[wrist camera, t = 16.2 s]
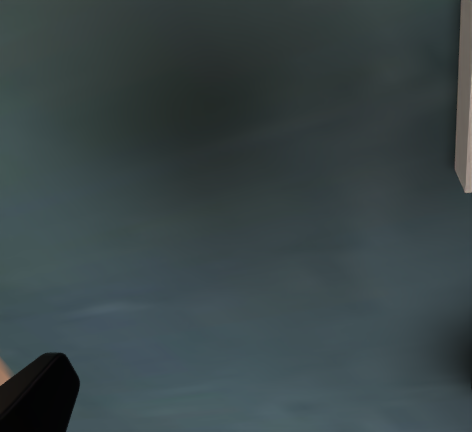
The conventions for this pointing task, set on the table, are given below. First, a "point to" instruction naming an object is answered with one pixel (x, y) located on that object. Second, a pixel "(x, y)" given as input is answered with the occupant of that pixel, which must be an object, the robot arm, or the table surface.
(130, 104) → the table surface
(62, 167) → the table surface
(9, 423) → the robot arm
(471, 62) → the dome base
